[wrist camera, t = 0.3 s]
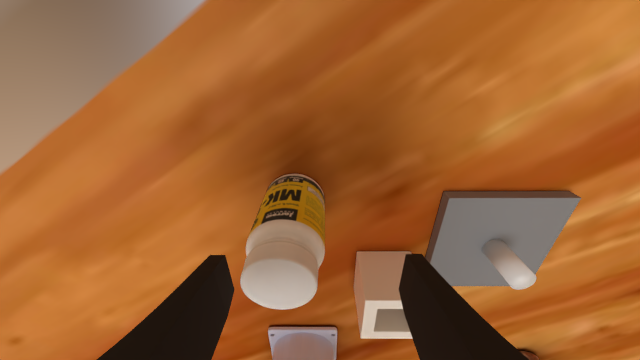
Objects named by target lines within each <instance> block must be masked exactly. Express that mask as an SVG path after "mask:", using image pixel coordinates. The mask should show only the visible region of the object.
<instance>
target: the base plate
mask: <svg viewBox="0 0 640 360" xmlns="http://www.w3.org/2000/svg"><path fill="white" fill-rule="evenodd" d="M580 199H581V197H579V196H577V195H575V194H574V193H572V192H570V191H444V192H443V195H442V199H441V202H440V206H439V210H438V213H437V217H436V221H435V224H434V228H433V231H432V235H431V239H430V242H429V246H428V249H427V253H426V257H425V258H426V260H427V261H428V262H429V263H430V264H431V265H432V266H433V267H434V268H435V269H436V270H437V271H438V273H439V274H440V275H441V276H442V277H443V278H444V279H445V280H446V281H447V282H448V283H449V284H450V285H451V286H511V287H512V288H513V289H517V290H519V289H525V288H528V287H530V286H531V285H533V284H534V283H535V281H536V275H535V274H536V272H537V271H538V269H539V267H540V266H541V264H542V262H543V261H544V259H545V257H546V256H547V254H548V252H549V251H550V249H551V247H552V246H553V244H554V242H555V241H556V239H557V237H558V236H559V234H560V232H561V231H562V229H563V227H564V226H565V224H566V222H567V221H568V219H569V217H570V216H571V214H572V212H573V211H574V209H575V207H576V206H577V204H578V202H579V201H580Z"/></svg>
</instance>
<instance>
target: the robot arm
mask: <svg viewBox="0 0 640 360" xmlns="http://www.w3.org/2000/svg"><path fill="white" fill-rule="evenodd" d="M233 293H234V287H233V283H232V279H231V275H230V272H229V268H228V264H227V260H226V257H225V255H210V256H209V257H208V258H207V259H206V260H205V261H204V262H203V263H202V264H201V265H200V266H199V267H198V268H197V269H196V270H195V271H194V272H193V273H192V274H191V275H190V276H189V277H188V278H187V279H186V280H185V281H184V282H183V283H182V284H181V285H180V286H179V287H178V288H177V289H176V290H175V291H174V292H173V293H171V294H170V295H169V296H168V297H167V298H166V299H165V300H164V301H163V302H162V303H161V304H160V305H159V306H158V307H157V308H156V309H155V310H154V311H153V312H152V313H150V314H149V315H148V316H147V317H146V318H145V319H144V320H143V321H142V322H141V323H139V324H138V325H137V326H136V327H135V328H134V329H133V330H132V331H131V332H129V333H128V334H127V335H126V336H125V337H124V338H122V339H121V340H120V341H119V342H118V343H117V344H115V345H114V346H113V347H112V348H110V349H109V350H108V351H107V352H106V353H104V354H103V355H102V356H101V357H99V358H98V359H97V360H211V359H212V356H213V354H214V351H215V348H216V346H217V343H218V340H219V338H220V335H221V333H222V330H223V327H224V325H225V322H226V319H227V316H228V313H229V309H230V305H231V301H232V297H233ZM399 293H400V298H401V302H402V306H403V310H404V314H405V318H406V321H407V324H408V327H409V329H410V332H411V335H412V338H413V341H414V344H415V347H416V349H417V352H418V355H419V358H420V360H529V359H528V358H527V357H526V356H524V355H523V354H522V353H521V352H520V351H519V350H517V349H516V348H515V347H514V346H513V345H511V344H510V343H509V342H508V341H507V340H506V339H505V338H504V337H503V336H501V335H500V334H499V333H498V332H497V331H496V330H495V329H494V328H493V327H492V326H491V325H490V324H489V323H487V322H486V321H485V320H484V319H483V318H482V317H481V316H480V315H479V314H478V313H477V312H476V311H475V310H474V309H473V308H472V307H471V306H470V305H469V304H468V303H467V302H466V301H465V300H464V299H463V298H462V297H461V296H460V295H459V294H458V293H457V292H456V291H455V290H454V289H453V288H452V287H451V285H450V284H449V283H448V282H447V281H446V280H445V279H444V278H443V277H442V276H441V275H440V274H439V273H438V271H437V270H436V269H435V268H434V267H433V266H432V265H431V264H430V263H429V262H428V261H427V260H426V258H425V257H424V256H423V255H422V254H406V256H405V260H404V265H403V270H402V275H401V279H400V284H399ZM268 336H269V341H270V346H271V352H272V360H336V351H337V328H336V327H270V328H269V329H268Z"/></svg>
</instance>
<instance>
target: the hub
mask: <svg viewBox="0 0 640 360" xmlns="http://www.w3.org/2000/svg"><path fill="white" fill-rule="evenodd" d="M406 254H412V253H411V251H357V256H356V267H355V278H354V294H355V301H356V308H357V316H358V323H359V331H360V338H374V339H413V338H412V335H411V332H410V329H409V327H408V324H407V321H406V318H405V314H404V310H403V306H402V302H401V298H400V293H399V284H400V279H401V275H402V270H403V265H404V260H405V256H406Z"/></svg>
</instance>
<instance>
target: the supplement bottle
mask: <svg viewBox="0 0 640 360" xmlns="http://www.w3.org/2000/svg"><path fill="white" fill-rule="evenodd" d="M246 255H247V258H246V260H245V264H244V268H243V271H242V274H241V280H240V283H241V287H242V290H243V292H244V293H245V294H246V296H247V297H248V298H249V299H251V300H252V301H254V302H255V303H257V304H259V305H262V306H264V307H267V308H272V309H281V310H284V309H293V308H297V307H300V306H302V305H304V304H306V303H307V302H309V301H310V300H311V299H312V298H313V297H314V295H315V293H316V291H317V286H318V268H319V267H320V265H321V264H322V262H323V259H324V255H325V199H324V193H323V191H322V189H321V187H320V186H319V185H318V183H317V182H315V181H314V180H313V179H311V178H310V177H308V176H305V175H302V174H287V175H283V176H281V177H279V178H277V179H276V180H275V181H273V182H272V183H271V185H270V186H269V188H268V190H267V192H266V194H265V197H264V199H263V202H262V204H261V206H260V209H259V212H258V214H257V217H256V219H255V222H254V224H253V227H252V229H251V232H250V234H249V236H248V239H247V243H246Z"/></svg>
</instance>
